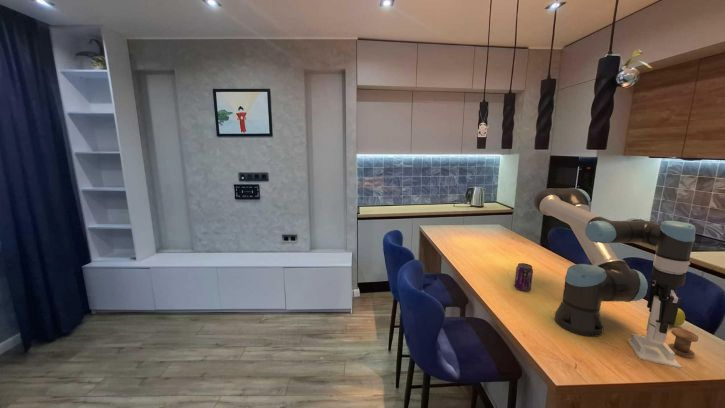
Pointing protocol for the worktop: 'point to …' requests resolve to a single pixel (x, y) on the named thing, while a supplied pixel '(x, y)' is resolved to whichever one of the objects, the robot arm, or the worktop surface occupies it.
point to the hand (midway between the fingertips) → (655, 335)
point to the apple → (679, 318)
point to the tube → (654, 320)
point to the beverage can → (523, 277)
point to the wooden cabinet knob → (683, 342)
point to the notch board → (652, 351)
